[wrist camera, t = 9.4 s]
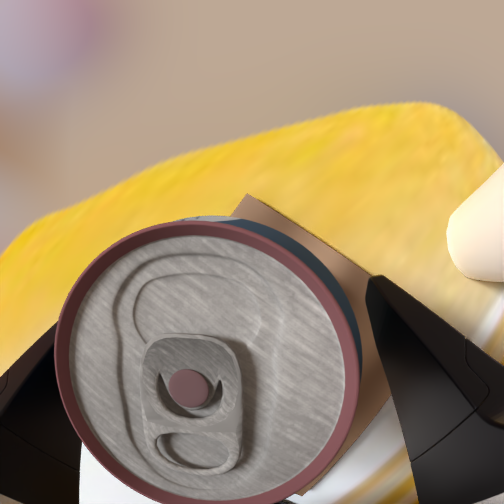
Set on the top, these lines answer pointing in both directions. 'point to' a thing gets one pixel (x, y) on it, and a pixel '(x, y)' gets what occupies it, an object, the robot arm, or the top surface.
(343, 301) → the soda can
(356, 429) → the plinth board
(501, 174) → the foam cup
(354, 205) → the top surface
